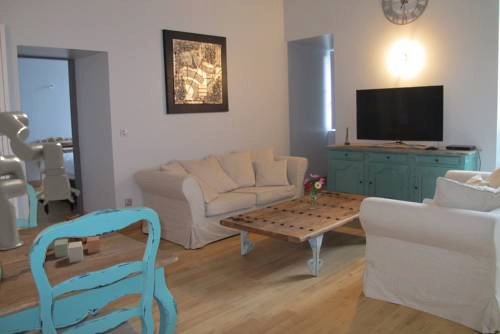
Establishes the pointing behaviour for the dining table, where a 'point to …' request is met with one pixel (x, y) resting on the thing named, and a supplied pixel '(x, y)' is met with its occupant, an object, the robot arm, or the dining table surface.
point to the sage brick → (61, 248)
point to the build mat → (77, 261)
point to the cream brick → (75, 251)
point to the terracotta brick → (93, 244)
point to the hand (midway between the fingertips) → (60, 212)
